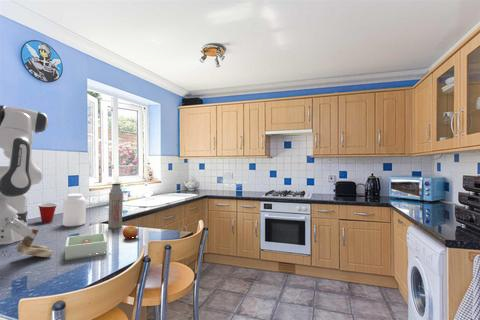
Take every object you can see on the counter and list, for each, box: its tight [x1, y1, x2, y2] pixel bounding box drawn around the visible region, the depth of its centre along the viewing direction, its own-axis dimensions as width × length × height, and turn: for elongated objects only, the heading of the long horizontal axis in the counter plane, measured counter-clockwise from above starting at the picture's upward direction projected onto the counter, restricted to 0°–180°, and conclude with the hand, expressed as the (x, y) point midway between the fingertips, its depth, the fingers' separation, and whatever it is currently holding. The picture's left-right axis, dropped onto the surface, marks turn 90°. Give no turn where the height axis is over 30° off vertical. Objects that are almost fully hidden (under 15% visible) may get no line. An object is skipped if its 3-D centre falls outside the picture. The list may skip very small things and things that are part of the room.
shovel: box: [15, 227, 54, 258], centre depth 115 cm, size 11×8×10 cm
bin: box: [64, 232, 108, 261], centre depth 123 cm, size 16×16×6 cm
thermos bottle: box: [107, 183, 124, 229], centre depth 168 cm, size 8×8×28 cm
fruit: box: [122, 225, 139, 241], centre depth 145 cm, size 8×8×8 cm
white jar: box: [62, 193, 87, 227], centre depth 172 cm, size 12×12×20 cm
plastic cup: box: [37, 202, 58, 223], centre depth 178 cm, size 11×11×12 cm
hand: (33, 236), depth 114 cm, fingers closed on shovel, 3 cm apart
